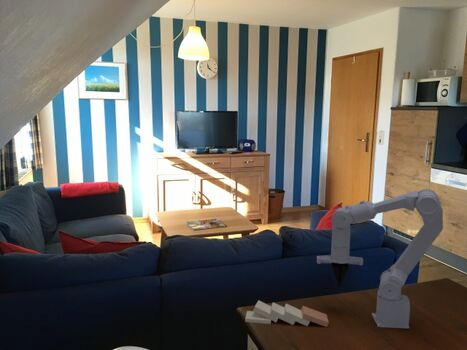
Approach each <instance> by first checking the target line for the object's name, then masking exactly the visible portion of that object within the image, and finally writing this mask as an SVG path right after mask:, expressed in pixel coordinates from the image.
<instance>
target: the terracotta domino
mask: <svg viewBox="0 0 467 350" xmlns="http://www.w3.org/2000/svg"><path fill="white" fill-rule="evenodd" d="M300 310H301V313H302V318H303V319H306V320H309V321H310V322H312V323H315V324H317V325H319V326H323V327H326V328H327V327H328V325H329V319H328V315H327V314H326V313H323V312H321V311H318V310H315V309H313V308H309V307H307V306H304V305H302V307H301V309H300Z"/></svg>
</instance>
